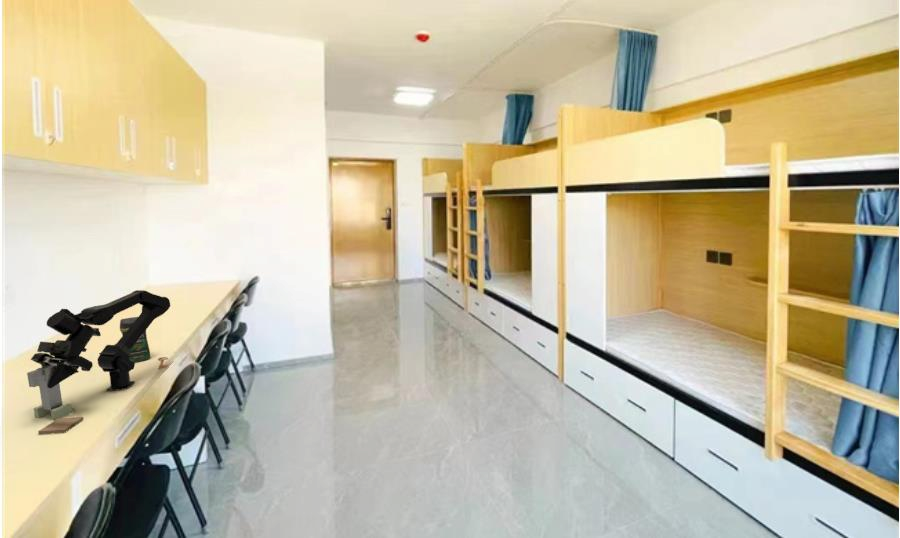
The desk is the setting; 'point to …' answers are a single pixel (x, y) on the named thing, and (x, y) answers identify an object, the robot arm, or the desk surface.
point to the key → (162, 363)
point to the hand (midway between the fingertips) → (44, 387)
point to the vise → (54, 411)
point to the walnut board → (60, 425)
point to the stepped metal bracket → (46, 386)
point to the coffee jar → (141, 346)
